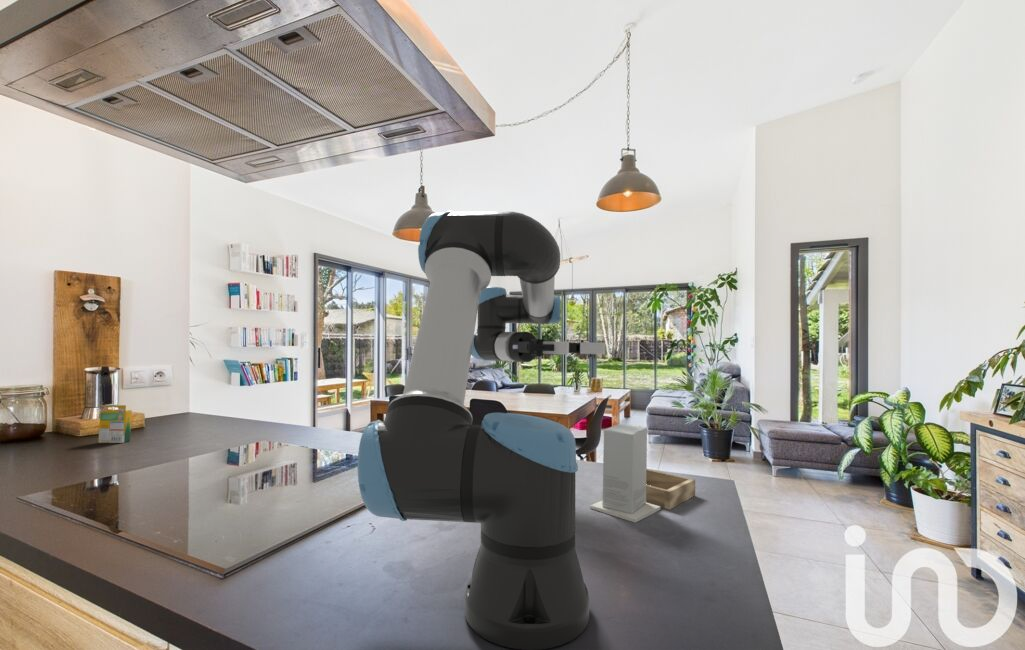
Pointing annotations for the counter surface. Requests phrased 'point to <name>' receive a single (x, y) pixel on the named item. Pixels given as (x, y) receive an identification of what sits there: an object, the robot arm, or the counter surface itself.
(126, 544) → the counter surface
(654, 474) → the pocket
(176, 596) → the counter surface
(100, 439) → the crayon box
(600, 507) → the coaster
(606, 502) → the skincare box
